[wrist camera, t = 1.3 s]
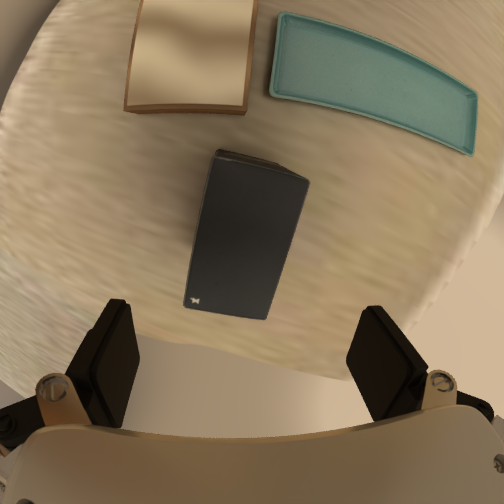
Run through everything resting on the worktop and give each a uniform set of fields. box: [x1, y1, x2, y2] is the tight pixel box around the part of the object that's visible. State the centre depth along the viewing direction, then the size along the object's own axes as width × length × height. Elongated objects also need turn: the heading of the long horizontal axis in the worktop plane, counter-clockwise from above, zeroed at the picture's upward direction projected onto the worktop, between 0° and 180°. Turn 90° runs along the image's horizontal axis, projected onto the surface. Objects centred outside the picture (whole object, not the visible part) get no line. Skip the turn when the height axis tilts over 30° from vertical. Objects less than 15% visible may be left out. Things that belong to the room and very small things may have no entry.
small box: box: [183, 149, 310, 321], centre depth 22 cm, size 11×6×10 cm, turn 166°
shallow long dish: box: [269, 12, 478, 157], centre depth 22 cm, size 26×9×2 cm, turn 84°
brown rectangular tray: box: [123, 0, 258, 115], centre depth 18 cm, size 14×10×4 cm
